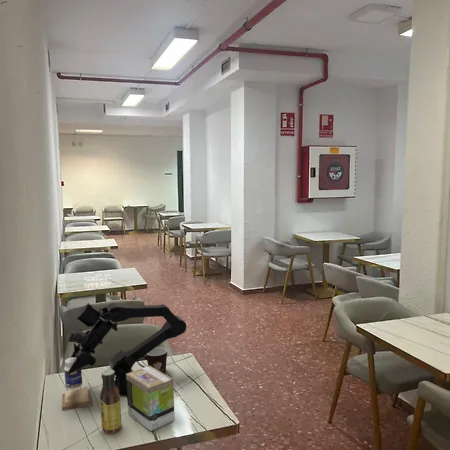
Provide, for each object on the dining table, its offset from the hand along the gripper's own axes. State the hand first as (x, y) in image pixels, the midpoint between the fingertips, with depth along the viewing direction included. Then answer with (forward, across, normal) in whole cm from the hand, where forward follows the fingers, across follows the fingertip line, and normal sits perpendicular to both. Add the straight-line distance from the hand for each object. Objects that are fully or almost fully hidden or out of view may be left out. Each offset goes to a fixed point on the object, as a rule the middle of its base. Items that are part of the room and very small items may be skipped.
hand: (68, 369), depth 156 cm
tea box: (-7, +22, +27) cm, 35 cm away
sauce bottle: (+2, +23, +17) cm, 29 cm away
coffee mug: (-13, -9, +33) cm, 37 cm away
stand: (+8, -1, +11) cm, 13 cm away
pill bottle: (+4, 0, +6) cm, 7 cm away
